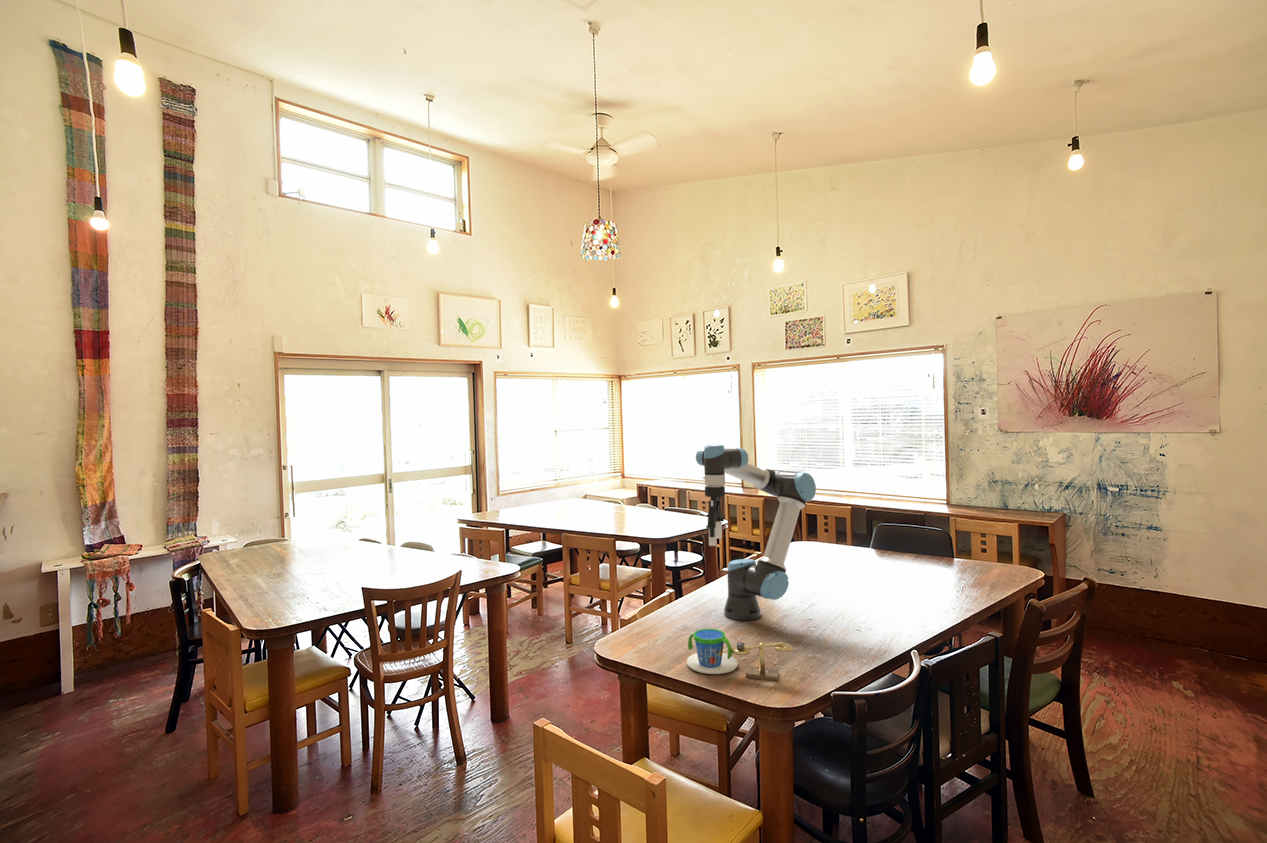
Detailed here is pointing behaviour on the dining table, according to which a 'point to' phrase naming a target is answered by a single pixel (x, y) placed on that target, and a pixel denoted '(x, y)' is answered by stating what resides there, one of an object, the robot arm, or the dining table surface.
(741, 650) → the balance
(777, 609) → the dining table surface
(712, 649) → the snack cup
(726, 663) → the dish
